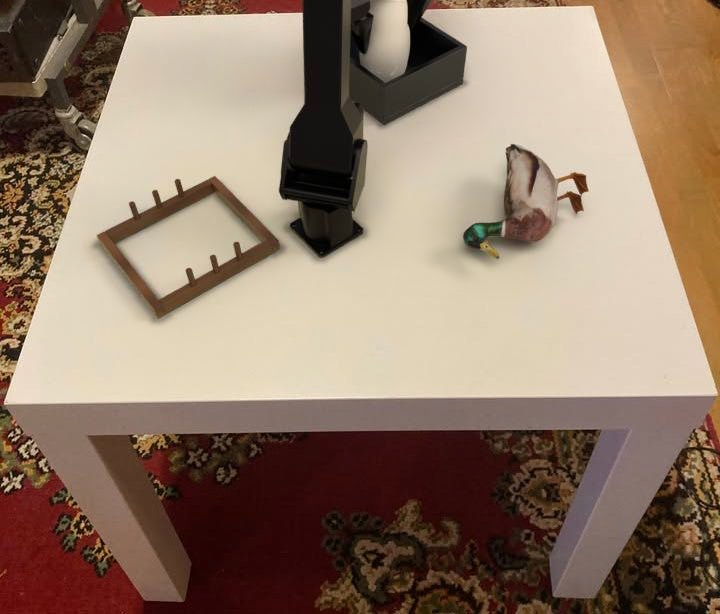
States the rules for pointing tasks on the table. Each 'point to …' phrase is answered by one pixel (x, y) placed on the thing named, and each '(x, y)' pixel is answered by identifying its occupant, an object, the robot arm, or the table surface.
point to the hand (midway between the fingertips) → (386, 41)
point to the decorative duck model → (526, 201)
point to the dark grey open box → (410, 74)
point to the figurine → (388, 39)
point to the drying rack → (194, 285)
